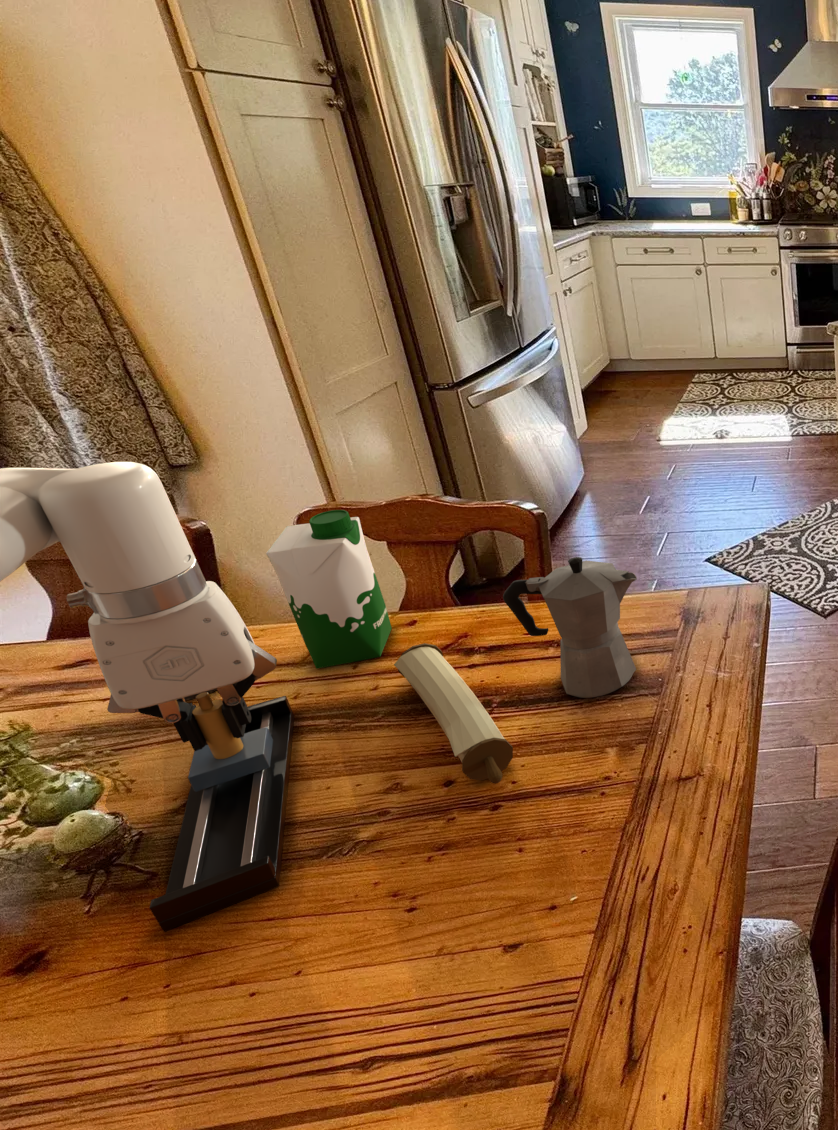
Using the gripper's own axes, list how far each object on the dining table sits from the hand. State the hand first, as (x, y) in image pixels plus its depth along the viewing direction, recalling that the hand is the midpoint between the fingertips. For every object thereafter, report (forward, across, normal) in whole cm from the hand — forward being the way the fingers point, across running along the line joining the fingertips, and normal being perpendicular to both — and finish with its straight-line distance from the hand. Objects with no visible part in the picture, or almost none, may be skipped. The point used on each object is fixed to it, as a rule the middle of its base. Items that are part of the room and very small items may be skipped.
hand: (221, 734), depth 81 cm
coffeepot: (+7, +35, -2) cm, 36 cm away
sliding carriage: (+4, 0, 0) cm, 4 cm away
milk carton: (+7, +10, +22) cm, 25 cm away
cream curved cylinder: (+7, +20, -2) cm, 21 cm away
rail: (+7, 0, -4) cm, 8 cm away
